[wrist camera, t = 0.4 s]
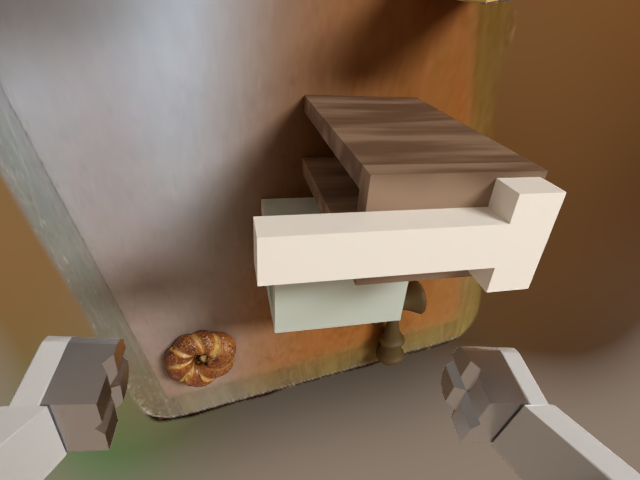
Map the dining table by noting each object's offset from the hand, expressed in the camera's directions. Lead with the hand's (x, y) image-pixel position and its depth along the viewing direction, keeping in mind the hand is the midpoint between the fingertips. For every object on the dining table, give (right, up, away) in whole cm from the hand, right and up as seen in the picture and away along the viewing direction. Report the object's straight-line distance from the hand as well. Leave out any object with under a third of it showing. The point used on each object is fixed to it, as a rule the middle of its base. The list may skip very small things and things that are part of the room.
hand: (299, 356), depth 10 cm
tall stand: (+6, +17, +46) cm, 49 cm away
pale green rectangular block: (0, +5, +52) cm, 52 cm away
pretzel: (-19, -16, +60) cm, 65 cm away
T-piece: (+6, +3, +23) cm, 24 cm away
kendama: (+12, -9, +64) cm, 66 cm away
